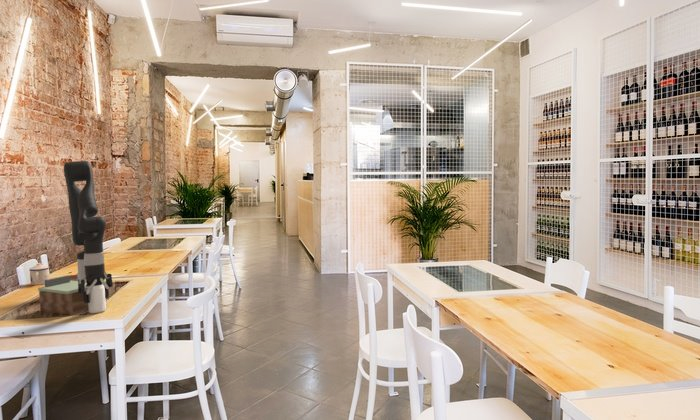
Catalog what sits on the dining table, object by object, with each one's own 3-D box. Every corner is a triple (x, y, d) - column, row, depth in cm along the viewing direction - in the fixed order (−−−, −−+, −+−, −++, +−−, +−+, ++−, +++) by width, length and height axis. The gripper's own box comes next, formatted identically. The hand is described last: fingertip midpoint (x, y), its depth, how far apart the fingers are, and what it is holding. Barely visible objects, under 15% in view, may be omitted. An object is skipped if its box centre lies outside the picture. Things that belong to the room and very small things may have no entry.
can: (98, 314, 189) (96, 286, 188) (85, 313, 190) (83, 285, 189) (109, 309, 195) (107, 282, 194) (96, 309, 196) (95, 282, 195)
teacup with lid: (32, 282, 254) (31, 262, 254) (51, 281, 258) (49, 261, 257) (27, 287, 244) (25, 266, 243) (46, 285, 247) (45, 264, 246)
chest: (40, 310, 196) (39, 290, 195) (71, 302, 208) (70, 283, 208) (70, 315, 188) (68, 294, 187) (100, 306, 200) (99, 287, 200)
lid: (38, 290, 195) (37, 281, 194) (71, 283, 208) (70, 274, 208) (67, 294, 187) (67, 284, 186) (100, 286, 200) (99, 277, 200)
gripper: (103, 260, 199) (105, 295, 200) (72, 265, 186) (74, 303, 187) (115, 260, 196) (117, 297, 197) (84, 266, 183) (86, 305, 184)
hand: (96, 300), depth 192 cm, fingers open, 8 cm apart
